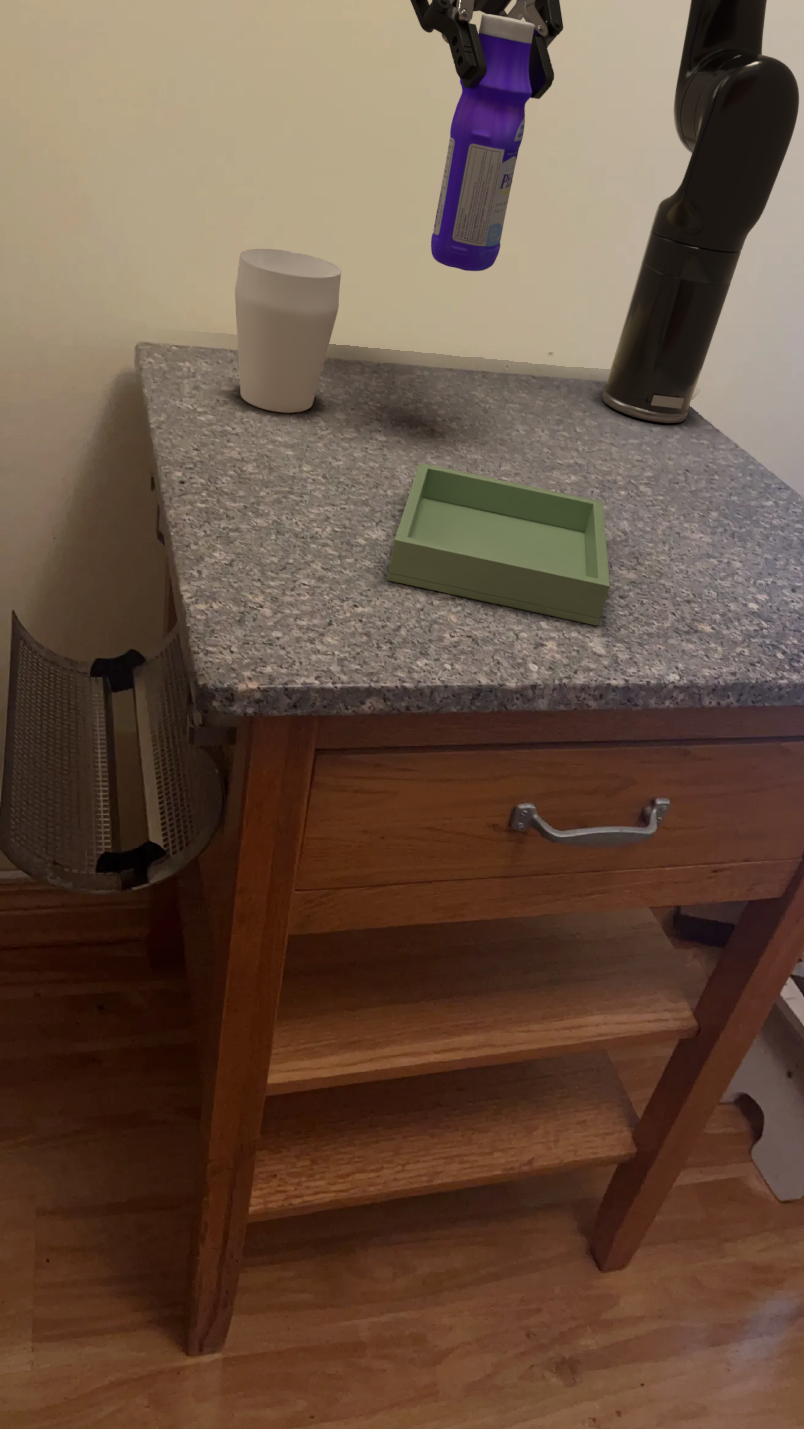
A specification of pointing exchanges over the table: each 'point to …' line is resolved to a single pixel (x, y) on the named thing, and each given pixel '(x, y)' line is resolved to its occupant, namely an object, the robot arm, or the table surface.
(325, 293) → the cup
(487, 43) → the bottle
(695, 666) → the table surface
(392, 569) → the tray
